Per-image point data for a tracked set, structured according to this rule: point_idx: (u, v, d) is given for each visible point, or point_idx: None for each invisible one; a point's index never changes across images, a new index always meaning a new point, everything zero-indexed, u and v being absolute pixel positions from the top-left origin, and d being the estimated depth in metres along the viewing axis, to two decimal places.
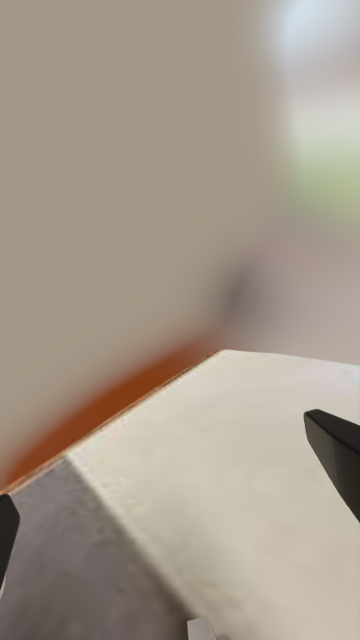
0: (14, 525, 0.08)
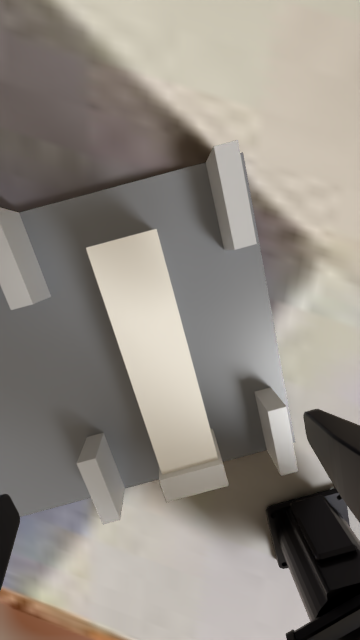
0: (14, 525, 0.08)
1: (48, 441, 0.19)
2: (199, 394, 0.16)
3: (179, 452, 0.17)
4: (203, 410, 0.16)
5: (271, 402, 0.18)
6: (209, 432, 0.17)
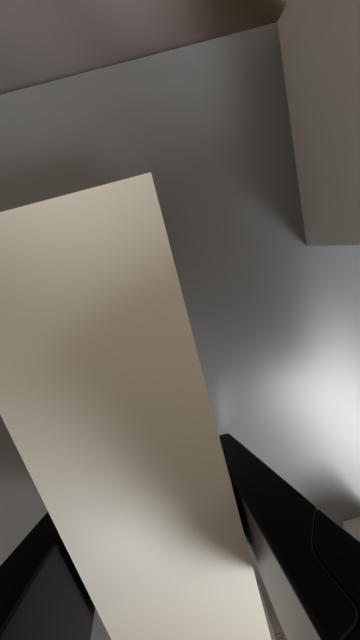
0: None
1: None
2: (258, 602, 0.06)
3: None
4: (265, 632, 0.07)
5: None
6: None
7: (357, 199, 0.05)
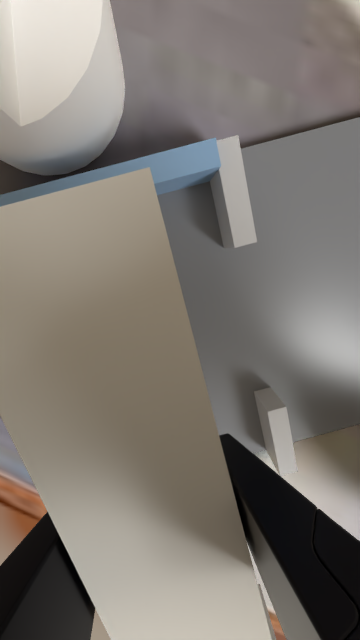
0: None
1: (216, 396, 0.19)
2: (258, 600, 0.06)
3: None
4: (265, 631, 0.07)
5: None
6: None
7: None
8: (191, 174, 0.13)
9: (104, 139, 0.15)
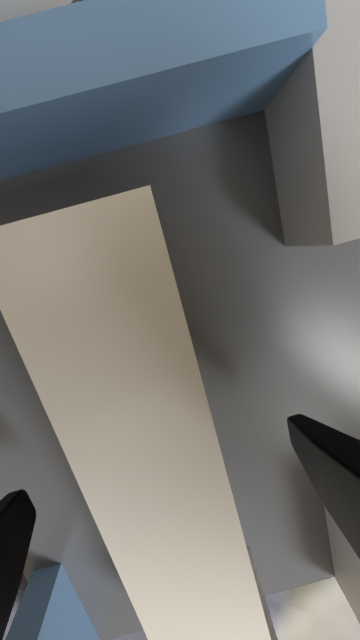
0: (31, 520, 0.08)
1: (257, 500, 0.11)
2: (242, 542, 0.08)
3: None
4: (249, 570, 0.08)
5: None
6: (258, 605, 0.08)
7: None
8: (247, 53, 0.05)
9: (41, 4, 0.07)
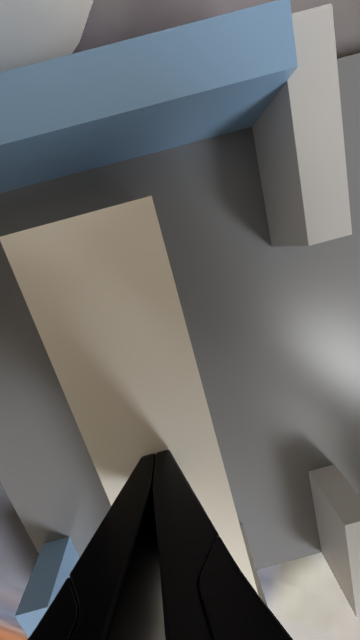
0: None
1: (249, 479, 0.12)
2: (232, 507, 0.09)
3: None
4: (238, 533, 0.09)
5: None
6: (247, 566, 0.09)
7: None
8: (231, 87, 0.06)
9: (58, 38, 0.08)
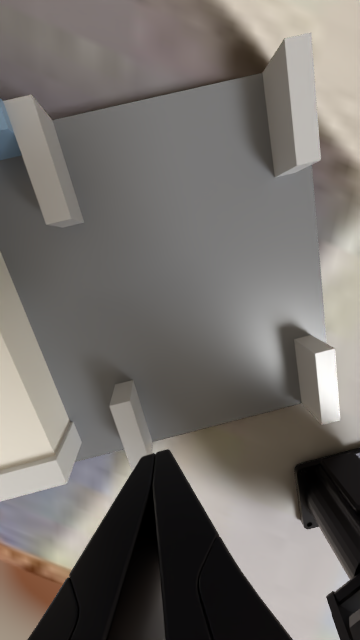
0: None
1: (73, 388, 0.18)
2: (21, 384, 0.14)
3: (8, 448, 0.15)
4: (29, 402, 0.15)
5: (316, 346, 0.17)
6: (40, 426, 0.15)
7: (290, 148, 0.13)
8: None
9: None
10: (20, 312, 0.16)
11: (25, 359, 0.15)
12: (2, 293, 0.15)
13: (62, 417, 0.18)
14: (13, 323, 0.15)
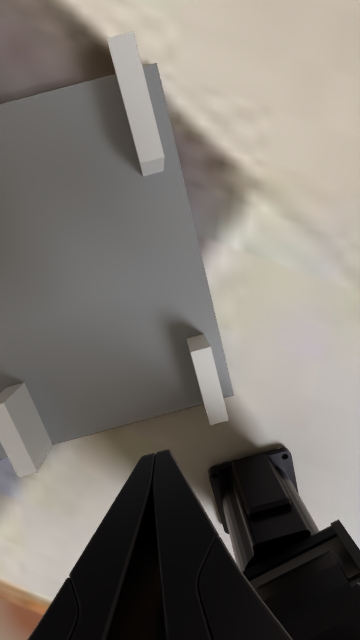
0: None
1: None
2: None
3: None
4: None
5: (198, 345, 0.17)
6: None
7: (135, 146, 0.13)
8: None
9: None
10: None
11: None
12: None
13: None
14: None
